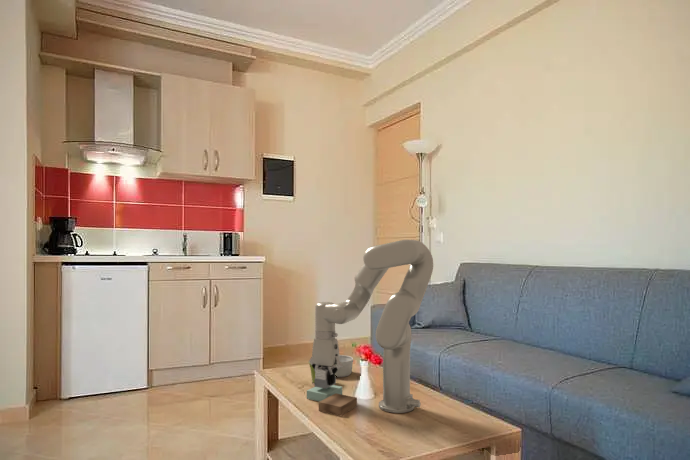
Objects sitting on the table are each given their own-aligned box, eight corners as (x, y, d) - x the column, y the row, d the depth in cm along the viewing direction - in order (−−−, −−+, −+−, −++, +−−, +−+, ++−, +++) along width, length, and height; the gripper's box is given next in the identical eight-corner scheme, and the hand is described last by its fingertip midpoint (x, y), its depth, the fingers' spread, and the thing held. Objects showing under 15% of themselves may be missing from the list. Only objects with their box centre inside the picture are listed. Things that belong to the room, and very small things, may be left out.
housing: (335, 383, 177) (335, 364, 177) (325, 388, 171) (325, 368, 171) (324, 381, 179) (324, 362, 179) (314, 386, 173) (314, 367, 173)
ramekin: (319, 376, 202) (319, 360, 202) (329, 368, 214) (329, 353, 214) (348, 379, 198) (348, 363, 198) (356, 371, 210) (357, 356, 210)
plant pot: (330, 385, 188) (330, 364, 189) (307, 385, 189) (307, 364, 189) (331, 379, 198) (331, 358, 198) (309, 379, 198) (309, 358, 198)
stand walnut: (356, 406, 165) (356, 397, 165) (340, 415, 155) (340, 406, 155) (335, 401, 169) (335, 393, 169) (318, 410, 160) (318, 402, 160)
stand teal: (342, 394, 177) (342, 386, 177) (326, 403, 168) (326, 394, 168) (323, 390, 182) (323, 383, 182) (306, 398, 173) (306, 390, 173)
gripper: (349, 335, 174) (349, 384, 174) (312, 331, 183) (312, 377, 183) (339, 339, 168) (339, 389, 167) (301, 334, 177) (301, 382, 176)
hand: (325, 382), depth 175 cm, fingers closed on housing, 5 cm apart
